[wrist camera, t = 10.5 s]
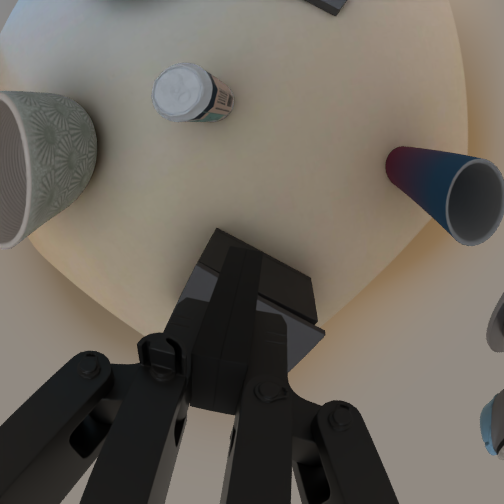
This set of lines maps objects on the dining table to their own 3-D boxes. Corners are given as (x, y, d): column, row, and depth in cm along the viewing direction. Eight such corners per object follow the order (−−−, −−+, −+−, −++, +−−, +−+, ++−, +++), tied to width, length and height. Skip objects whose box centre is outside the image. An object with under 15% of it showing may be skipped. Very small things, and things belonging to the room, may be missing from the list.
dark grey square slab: (325, 330, 27) (325, 335, 27) (259, 395, 33) (258, 399, 32) (198, 261, 26) (195, 264, 26) (158, 344, 32) (155, 348, 31)
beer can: (215, 73, 26) (180, 47, 15) (243, 102, 27) (223, 89, 17) (184, 101, 28) (134, 93, 17) (211, 130, 29) (173, 135, 18)
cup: (404, 205, 31) (471, 262, 17) (367, 168, 29) (429, 207, 16) (436, 166, 28) (515, 202, 14) (401, 127, 27) (480, 139, 13)
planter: (139, 159, 31) (56, 191, 17) (66, 225, 36) (-2, 273, 22) (83, 64, 25) (-2, 57, 12) (21, 142, 30) (-51, 165, 17)
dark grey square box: (311, 277, 36) (318, 321, 28) (259, 342, 42) (254, 387, 34) (216, 227, 34) (198, 260, 26) (178, 303, 40) (158, 344, 32)
